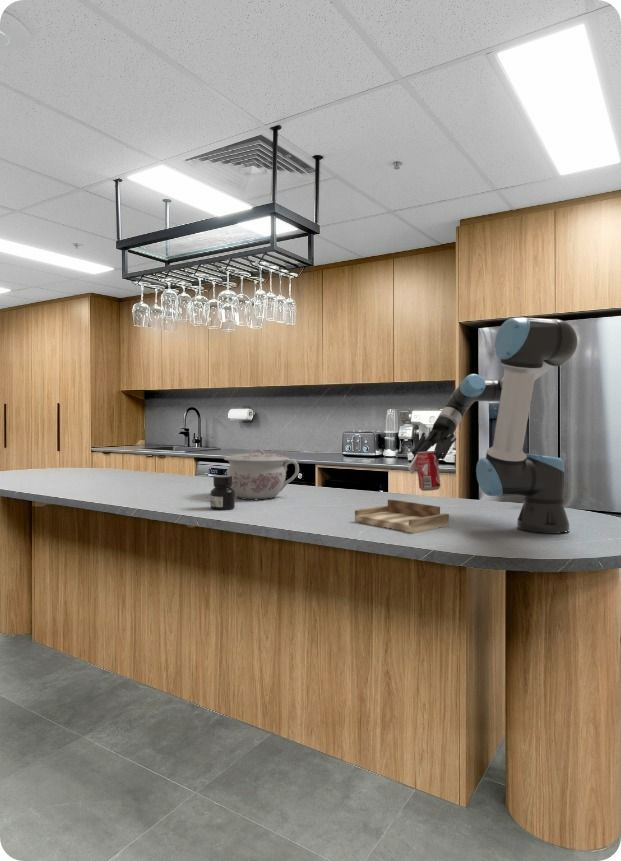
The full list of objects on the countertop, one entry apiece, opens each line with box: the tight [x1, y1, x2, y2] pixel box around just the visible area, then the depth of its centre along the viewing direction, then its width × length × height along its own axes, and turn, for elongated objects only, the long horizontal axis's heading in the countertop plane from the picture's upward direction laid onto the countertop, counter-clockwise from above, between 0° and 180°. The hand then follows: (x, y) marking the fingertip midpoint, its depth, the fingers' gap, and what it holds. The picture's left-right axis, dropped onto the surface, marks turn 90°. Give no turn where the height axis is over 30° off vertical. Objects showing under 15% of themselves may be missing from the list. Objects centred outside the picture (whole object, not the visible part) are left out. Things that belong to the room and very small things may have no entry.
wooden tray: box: [354, 498, 450, 534], centre depth 193 cm, size 24×18×6 cm
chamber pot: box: [223, 447, 300, 500], centre depth 249 cm, size 28×28×21 cm
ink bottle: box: [209, 474, 236, 511], centre depth 220 cm, size 10×9×12 cm
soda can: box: [416, 450, 441, 492], centre depth 202 cm, size 7×7×13 cm
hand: (417, 471), depth 201 cm, fingers open, 5 cm apart
